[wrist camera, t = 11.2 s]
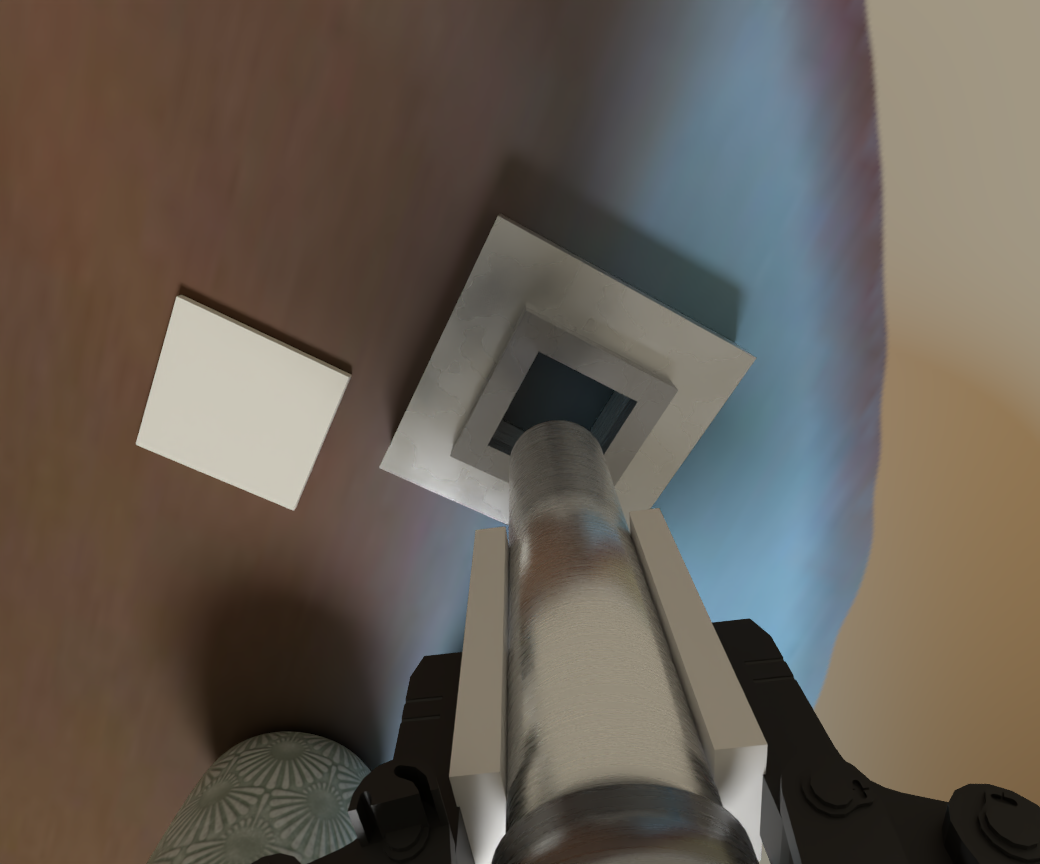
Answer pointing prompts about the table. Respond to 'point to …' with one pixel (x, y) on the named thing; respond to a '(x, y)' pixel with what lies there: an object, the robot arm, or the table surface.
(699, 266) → the table surface
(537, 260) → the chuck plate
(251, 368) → the rubber mat
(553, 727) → the shiny metal cylinder
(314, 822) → the planter
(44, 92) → the table surface
